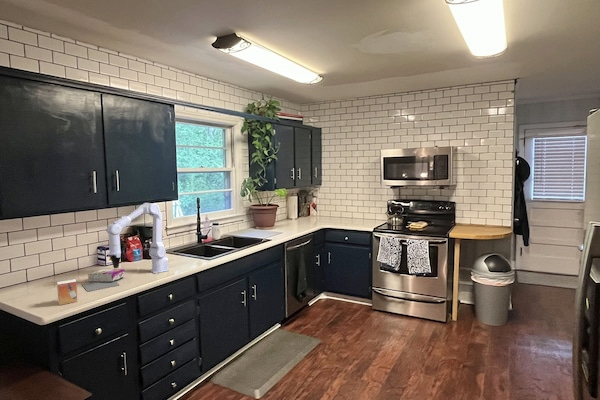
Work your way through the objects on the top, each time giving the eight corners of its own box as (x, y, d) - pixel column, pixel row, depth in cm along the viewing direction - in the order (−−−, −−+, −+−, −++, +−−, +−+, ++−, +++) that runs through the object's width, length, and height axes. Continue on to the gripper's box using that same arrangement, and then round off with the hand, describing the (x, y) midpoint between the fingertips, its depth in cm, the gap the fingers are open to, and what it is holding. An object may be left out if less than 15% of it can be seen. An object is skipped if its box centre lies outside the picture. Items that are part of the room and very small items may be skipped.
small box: (58, 305, 181) (57, 284, 180) (58, 302, 185) (56, 281, 184) (78, 301, 185) (76, 281, 184) (76, 298, 190) (75, 278, 189)
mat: (112, 279, 223) (112, 278, 223) (119, 285, 211) (119, 284, 211) (81, 284, 213) (81, 284, 213) (87, 291, 200) (87, 291, 200)
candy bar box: (125, 277, 225) (102, 276, 228) (124, 268, 224) (101, 268, 228) (112, 282, 214) (88, 281, 217) (111, 273, 214) (87, 273, 217)
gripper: (104, 243, 218) (105, 266, 219) (110, 247, 207) (111, 271, 208) (117, 242, 223) (118, 264, 224) (123, 245, 211) (125, 269, 213)
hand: (116, 267), depth 216 cm, fingers closed
